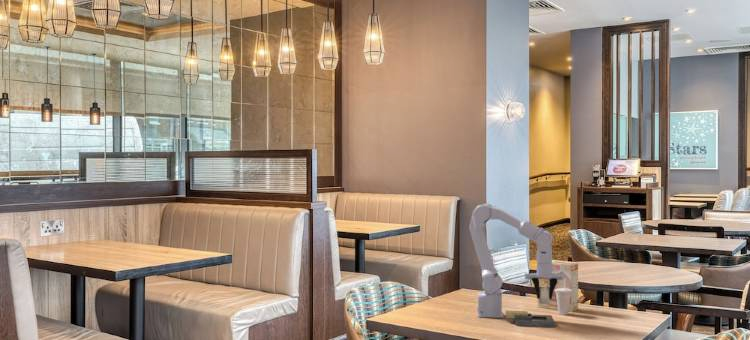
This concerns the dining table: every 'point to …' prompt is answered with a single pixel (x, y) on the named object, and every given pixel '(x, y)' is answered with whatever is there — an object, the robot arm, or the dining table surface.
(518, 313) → the shunt bar
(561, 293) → the smoothie
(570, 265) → the coffeecake box
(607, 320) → the dining table surface
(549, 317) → the jig
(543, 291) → the white capsule cylinder
